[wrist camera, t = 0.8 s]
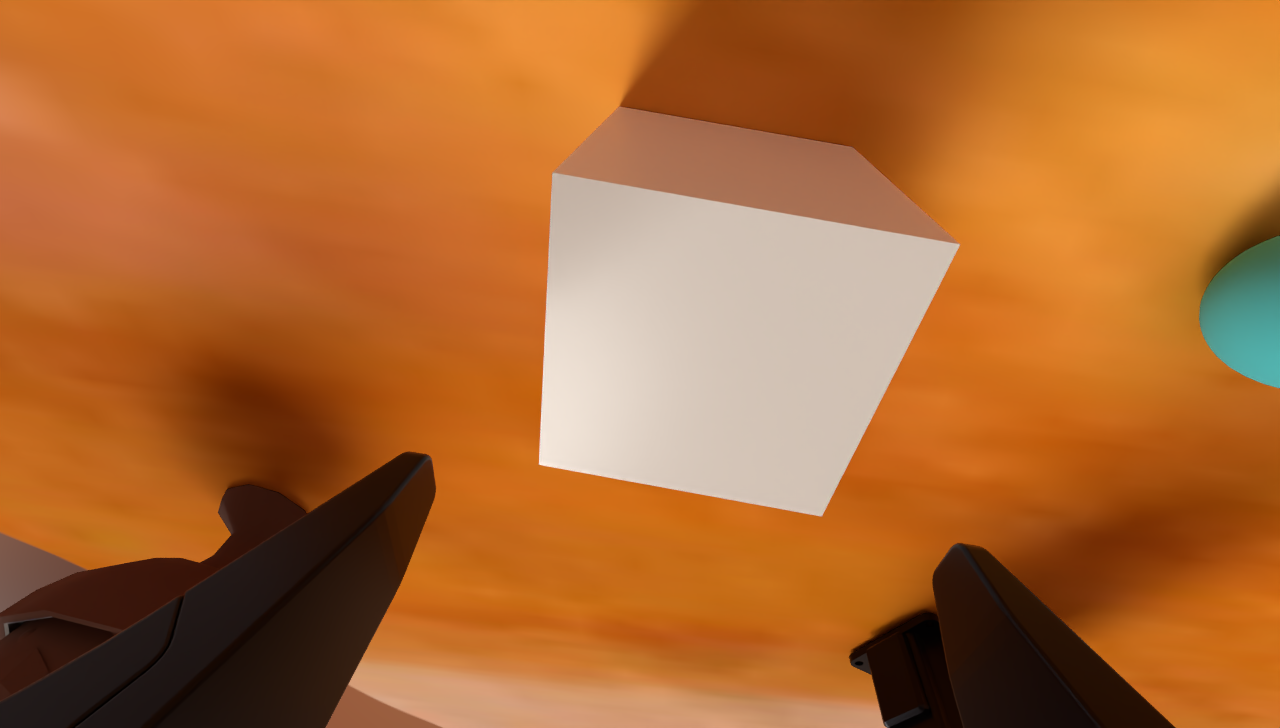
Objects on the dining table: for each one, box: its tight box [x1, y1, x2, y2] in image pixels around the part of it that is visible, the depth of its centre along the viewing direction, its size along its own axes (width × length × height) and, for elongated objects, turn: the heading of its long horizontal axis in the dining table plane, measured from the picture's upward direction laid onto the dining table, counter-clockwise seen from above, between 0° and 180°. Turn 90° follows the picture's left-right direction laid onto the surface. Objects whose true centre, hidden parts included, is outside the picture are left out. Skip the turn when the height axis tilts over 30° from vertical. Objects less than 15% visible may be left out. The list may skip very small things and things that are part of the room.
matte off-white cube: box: [539, 106, 960, 516], centre depth 16 cm, size 8×8×9 cm
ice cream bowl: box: [0, 484, 306, 701], centre depth 25 cm, size 11×11×15 cm
